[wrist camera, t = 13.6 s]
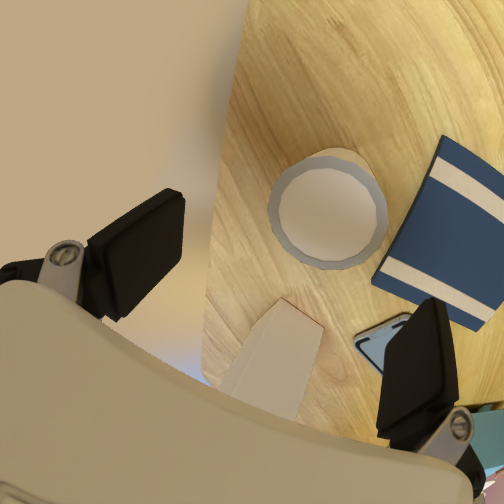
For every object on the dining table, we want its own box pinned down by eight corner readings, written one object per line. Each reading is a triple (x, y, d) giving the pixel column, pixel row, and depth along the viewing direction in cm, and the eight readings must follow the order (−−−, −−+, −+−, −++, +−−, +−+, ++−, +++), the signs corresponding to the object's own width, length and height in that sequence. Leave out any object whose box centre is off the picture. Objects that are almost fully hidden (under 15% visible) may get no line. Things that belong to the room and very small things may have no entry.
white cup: (341, 120, 17) (331, 128, 12) (399, 192, 18) (412, 233, 13) (278, 176, 21) (243, 207, 16) (333, 238, 22) (319, 289, 17)
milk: (254, 322, 32) (152, 488, 14) (281, 296, 28) (165, 500, 11) (294, 350, 32) (214, 517, 14) (326, 328, 28) (244, 531, 11)
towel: (370, 279, 23) (370, 285, 22) (442, 134, 14) (445, 135, 14) (475, 327, 20) (476, 333, 19) (549, 218, 12) (554, 222, 11)
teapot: (516, 397, 21) (520, 471, 10) (488, 427, 26) (485, 490, 15) (403, 406, 30) (389, 492, 19) (388, 433, 35) (373, 501, 25)
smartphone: (404, 400, 28) (348, 343, 26) (405, 395, 29) (349, 337, 27) (453, 383, 24) (410, 315, 22) (453, 378, 24) (409, 309, 22)
